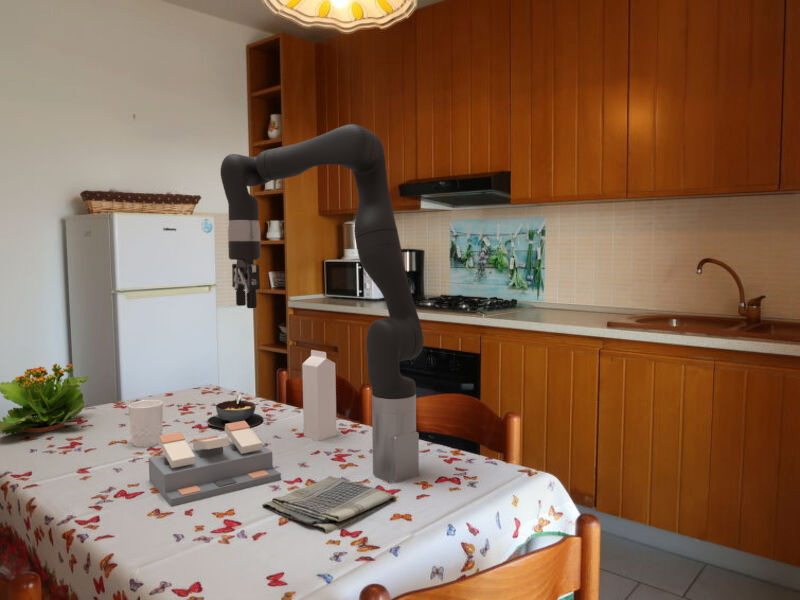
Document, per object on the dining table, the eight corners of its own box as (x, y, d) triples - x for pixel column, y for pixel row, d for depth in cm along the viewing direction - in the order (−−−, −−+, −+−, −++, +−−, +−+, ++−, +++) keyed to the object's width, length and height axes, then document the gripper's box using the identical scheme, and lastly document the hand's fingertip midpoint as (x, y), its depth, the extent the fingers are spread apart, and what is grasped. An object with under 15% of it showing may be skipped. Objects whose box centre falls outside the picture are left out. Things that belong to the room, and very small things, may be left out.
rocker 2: (229, 445, 125) (228, 435, 125) (208, 449, 122) (207, 439, 123) (213, 444, 133) (212, 435, 133) (193, 448, 130) (192, 439, 131)
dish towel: (331, 482, 127) (331, 467, 127) (398, 504, 116) (397, 488, 115) (258, 512, 113) (258, 495, 112) (326, 541, 101) (326, 523, 101)
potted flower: (-13, 425, 169) (-17, 362, 168) (81, 410, 184) (78, 353, 183) (0, 447, 150) (-4, 376, 149) (104, 428, 165) (101, 364, 164)
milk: (318, 441, 152) (316, 354, 150) (303, 436, 157) (301, 351, 155) (337, 435, 157) (335, 350, 155) (321, 431, 161) (319, 348, 159)
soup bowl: (196, 429, 164) (195, 402, 164) (229, 414, 179) (228, 389, 179) (245, 434, 160) (244, 406, 159) (275, 418, 175) (274, 392, 174)
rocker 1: (194, 463, 121) (195, 454, 121) (171, 468, 119) (172, 459, 118) (180, 439, 129) (180, 431, 128) (158, 443, 126) (158, 435, 126)
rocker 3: (261, 449, 129) (262, 441, 129) (241, 453, 127) (242, 445, 126) (243, 427, 137) (244, 420, 137) (224, 431, 135) (225, 423, 134)
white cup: (170, 438, 156) (168, 400, 155) (154, 448, 148) (153, 408, 147) (140, 438, 156) (138, 399, 156) (123, 448, 149) (121, 407, 148)
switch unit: (280, 480, 127) (280, 450, 126) (171, 507, 114) (169, 474, 113) (250, 459, 140) (250, 432, 139) (149, 481, 127) (148, 451, 126)
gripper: (269, 239, 143) (271, 308, 145) (250, 240, 156) (252, 304, 157) (237, 239, 140) (239, 310, 141) (220, 240, 152) (222, 305, 153)
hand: (246, 306), depth 149 cm, fingers open, 8 cm apart
